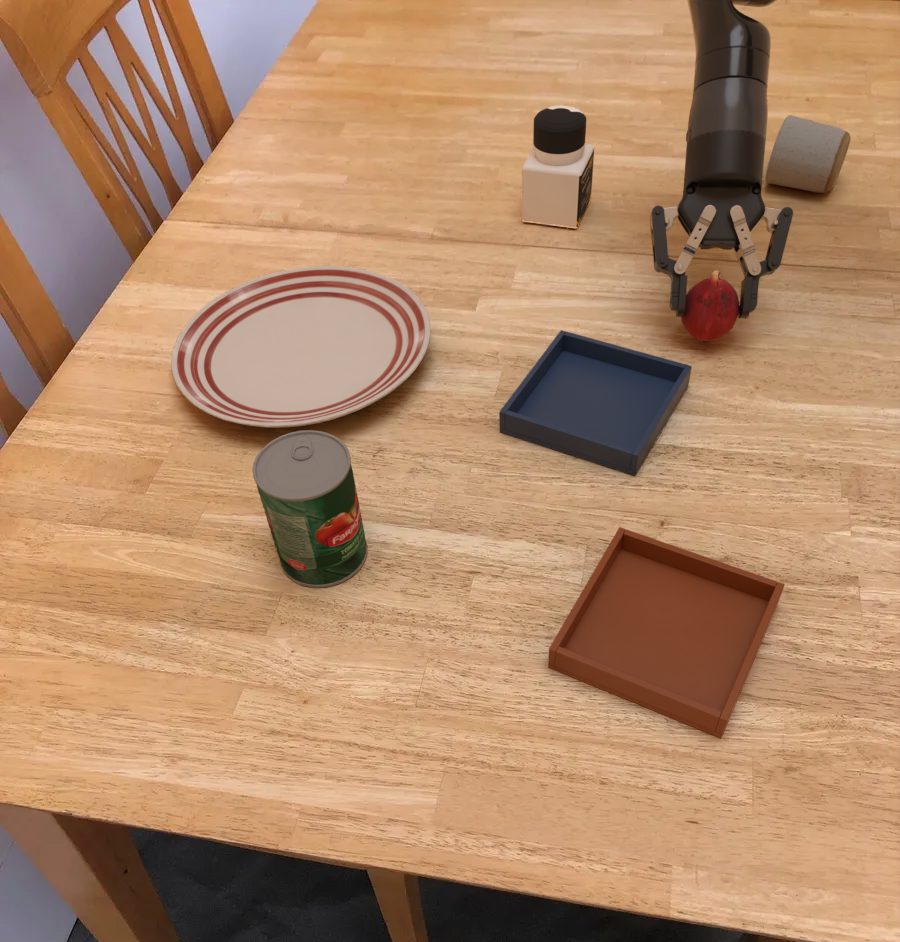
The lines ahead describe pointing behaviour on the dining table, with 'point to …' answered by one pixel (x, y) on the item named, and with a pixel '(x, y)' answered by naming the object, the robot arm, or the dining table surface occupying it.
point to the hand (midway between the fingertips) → (712, 315)
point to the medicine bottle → (558, 168)
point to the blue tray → (596, 401)
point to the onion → (710, 308)
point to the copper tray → (667, 630)
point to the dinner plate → (301, 346)
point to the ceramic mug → (807, 155)
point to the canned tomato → (312, 507)
